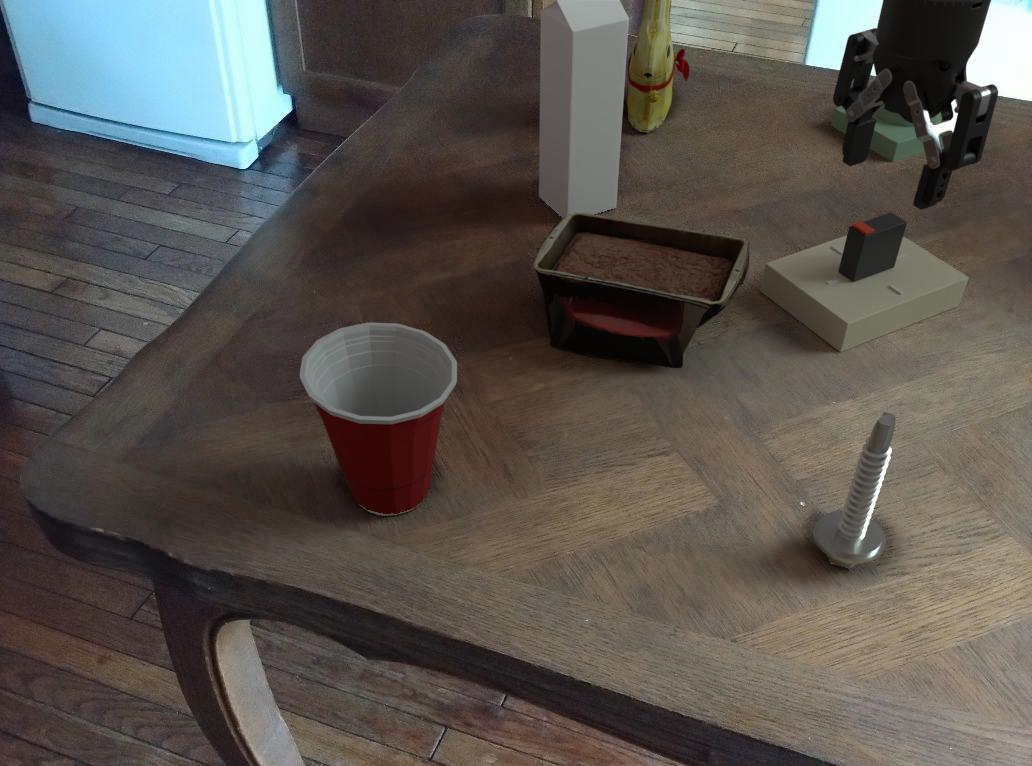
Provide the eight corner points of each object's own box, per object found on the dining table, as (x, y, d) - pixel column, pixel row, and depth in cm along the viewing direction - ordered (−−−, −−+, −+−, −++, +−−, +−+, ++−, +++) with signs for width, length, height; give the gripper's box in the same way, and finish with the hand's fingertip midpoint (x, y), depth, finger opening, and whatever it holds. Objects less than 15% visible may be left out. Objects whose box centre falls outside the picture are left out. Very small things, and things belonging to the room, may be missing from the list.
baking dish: (586, 281, 104) (572, 188, 97) (767, 299, 96) (766, 199, 89) (526, 373, 96) (505, 278, 89) (718, 400, 88) (713, 299, 81)
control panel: (874, 250, 103) (882, 221, 101) (959, 306, 96) (970, 275, 94) (759, 291, 99) (765, 261, 96) (840, 352, 92) (848, 322, 89)
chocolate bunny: (619, 138, 120) (628, -2, 110) (630, 97, 128) (640, -38, 117) (679, 143, 119) (695, 2, 108) (687, 101, 127) (703, -35, 116)
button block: (909, 103, 125) (918, 68, 122) (973, 136, 119) (984, 101, 116) (830, 127, 121) (837, 92, 118) (892, 162, 115) (901, 126, 112)
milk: (538, 198, 111) (538, -28, 96) (588, 184, 113) (596, -40, 97) (567, 224, 108) (572, -7, 92) (618, 209, 109) (632, -21, 94)
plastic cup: (448, 550, 76) (439, 422, 68) (305, 534, 78) (278, 406, 69) (476, 451, 84) (471, 324, 75) (344, 438, 85) (324, 312, 77)
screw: (865, 528, 77) (888, 578, 74) (800, 533, 77) (819, 583, 74) (912, 386, 68) (941, 435, 64) (838, 391, 67) (862, 441, 64)
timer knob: (878, 257, 97) (891, 209, 93) (894, 267, 95) (908, 219, 92) (837, 271, 95) (849, 223, 92) (853, 282, 94) (865, 234, 90)
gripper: (836, -40, 81) (798, 160, 93) (977, 21, 72) (915, 234, 84) (911, -59, 83) (864, 139, 95) (1056, -2, 75) (985, 208, 86)
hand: (888, 183), depth 90 cm, fingers open, 8 cm apart
